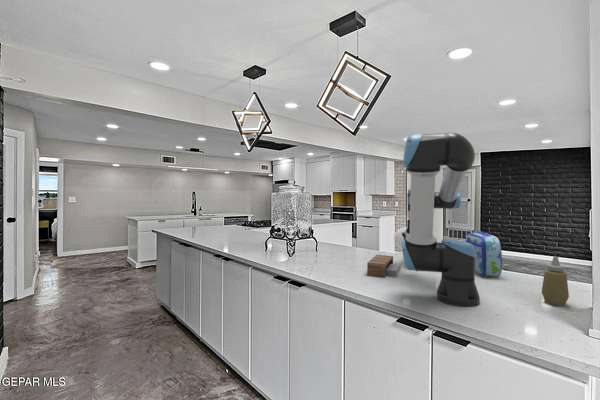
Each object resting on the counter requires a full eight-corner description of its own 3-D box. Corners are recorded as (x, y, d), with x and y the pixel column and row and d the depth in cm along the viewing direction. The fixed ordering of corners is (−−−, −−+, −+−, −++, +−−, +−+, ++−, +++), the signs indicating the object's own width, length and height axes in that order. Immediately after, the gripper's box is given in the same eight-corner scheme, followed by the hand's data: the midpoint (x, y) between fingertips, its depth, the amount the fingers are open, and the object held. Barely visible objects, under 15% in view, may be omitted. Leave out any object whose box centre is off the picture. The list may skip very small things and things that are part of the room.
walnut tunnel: (385, 277, 155) (385, 264, 155) (367, 275, 159) (367, 262, 159) (393, 267, 175) (393, 255, 175) (376, 266, 179) (376, 254, 179)
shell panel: (396, 278, 156) (396, 270, 156) (372, 275, 162) (372, 268, 162) (400, 271, 170) (400, 264, 170) (378, 268, 175) (378, 262, 175)
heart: (414, 270, 169) (414, 229, 169) (389, 265, 181) (389, 226, 180) (438, 262, 188) (438, 225, 187) (414, 258, 199) (414, 223, 199)
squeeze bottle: (539, 303, 119) (540, 256, 119) (543, 298, 125) (544, 253, 124) (567, 309, 113) (568, 259, 113) (570, 303, 119) (570, 256, 118)
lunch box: (463, 266, 179) (463, 229, 178) (483, 267, 177) (484, 229, 176) (479, 278, 153) (480, 235, 153) (503, 279, 151) (504, 236, 151)
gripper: (429, 219, 159) (429, 266, 160) (402, 218, 165) (402, 263, 165) (428, 220, 153) (428, 268, 153) (400, 219, 158) (400, 266, 158)
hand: (414, 266), depth 159 cm, fingers closed
